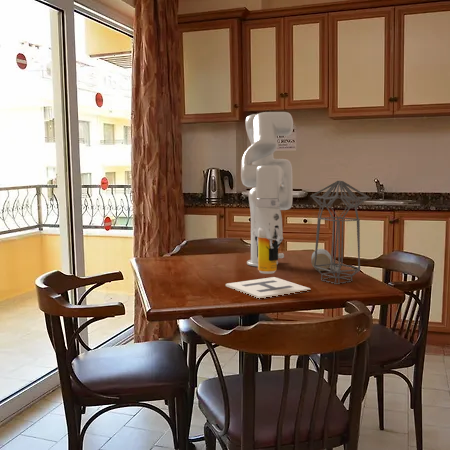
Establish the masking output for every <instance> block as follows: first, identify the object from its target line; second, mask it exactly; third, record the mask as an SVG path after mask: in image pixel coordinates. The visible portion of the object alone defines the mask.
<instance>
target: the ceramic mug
mask: <svg viewBox="0 0 450 450" xmlns="http://www.w3.org/2000/svg"><path fill="white" fill-rule="evenodd" d="M314 260H315V250H314V251H313V252H312V254H311V265H312V267H313V269H314V270H316V271H317V272H319V271H320V272H326V271H325V270H322V269H318V270H319V271H318V270H317V269H316V268H314ZM333 263H334V261H333ZM323 264H331V253H330V252H329V251H328V250H326V249H324V248H318V249H317V258H316V265H323ZM318 267H320V268H324V269H328V270H331V265H327V266H318ZM338 270H339V265H335V271H338ZM332 271H334V265H332Z"/></svg>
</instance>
